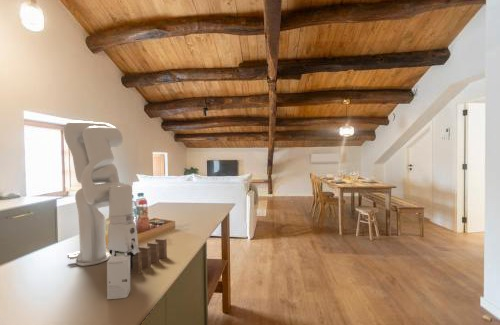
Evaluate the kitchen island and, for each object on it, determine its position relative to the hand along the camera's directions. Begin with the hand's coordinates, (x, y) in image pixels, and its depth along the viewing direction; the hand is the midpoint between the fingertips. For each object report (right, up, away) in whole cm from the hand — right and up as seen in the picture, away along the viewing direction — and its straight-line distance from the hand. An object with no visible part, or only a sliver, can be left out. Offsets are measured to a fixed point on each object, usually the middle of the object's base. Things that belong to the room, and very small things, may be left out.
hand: (123, 268), depth 93 cm
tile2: (+4, -4, +11) cm, 12 cm away
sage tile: (0, -2, 0) cm, 2 cm away
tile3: (+5, -3, +15) cm, 17 cm away
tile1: (+2, -4, +6) cm, 7 cm away
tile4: (+7, -3, +20) cm, 21 cm away
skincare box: (+4, -4, -10) cm, 12 cm away
